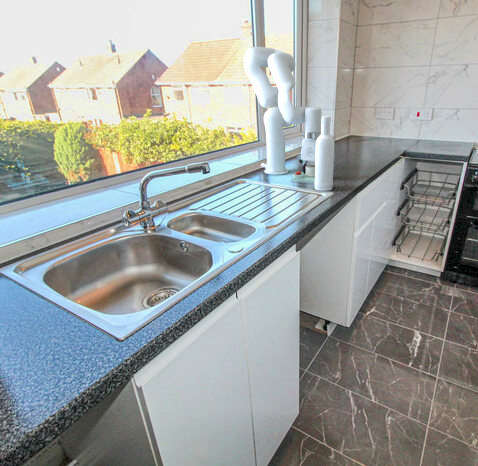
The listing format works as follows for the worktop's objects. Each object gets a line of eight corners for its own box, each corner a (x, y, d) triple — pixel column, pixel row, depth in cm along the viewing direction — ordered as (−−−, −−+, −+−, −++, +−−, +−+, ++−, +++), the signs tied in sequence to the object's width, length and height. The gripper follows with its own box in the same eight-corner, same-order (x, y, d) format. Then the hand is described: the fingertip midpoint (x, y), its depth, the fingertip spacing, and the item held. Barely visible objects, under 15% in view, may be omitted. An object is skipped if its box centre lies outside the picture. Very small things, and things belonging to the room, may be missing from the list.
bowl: (303, 176, 157) (303, 167, 156) (308, 173, 163) (308, 164, 161) (316, 177, 155) (316, 168, 153) (320, 174, 160) (321, 165, 159)
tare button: (294, 175, 156) (294, 172, 155) (296, 174, 158) (296, 171, 157) (299, 175, 155) (299, 172, 154) (301, 174, 157) (302, 171, 156)
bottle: (335, 190, 141) (339, 116, 129) (317, 191, 140) (320, 117, 128) (328, 185, 149) (331, 115, 136) (312, 186, 147) (313, 115, 135)
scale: (290, 181, 156) (290, 175, 155) (301, 174, 168) (301, 169, 167) (324, 185, 150) (324, 178, 149) (333, 177, 161) (333, 171, 160)
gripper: (292, 136, 152) (292, 174, 159) (328, 137, 145) (327, 177, 152) (298, 134, 158) (298, 171, 165) (333, 135, 151) (331, 173, 158)
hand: (312, 173), depth 159 cm, fingers closed on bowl, 6 cm apart
